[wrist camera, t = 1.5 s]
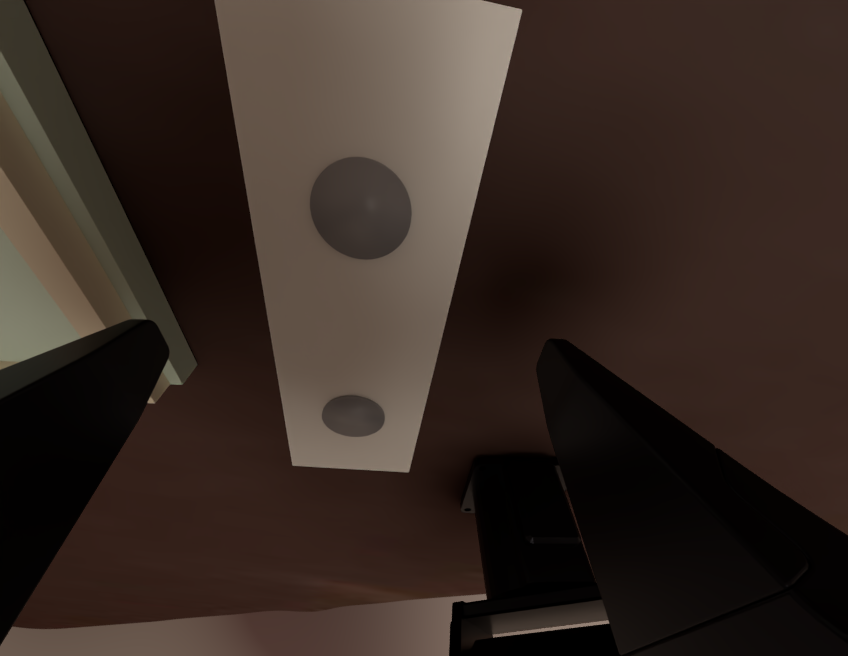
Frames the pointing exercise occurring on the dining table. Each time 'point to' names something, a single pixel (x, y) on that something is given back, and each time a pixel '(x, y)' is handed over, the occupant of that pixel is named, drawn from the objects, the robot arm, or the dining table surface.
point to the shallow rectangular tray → (63, 220)
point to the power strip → (361, 199)
